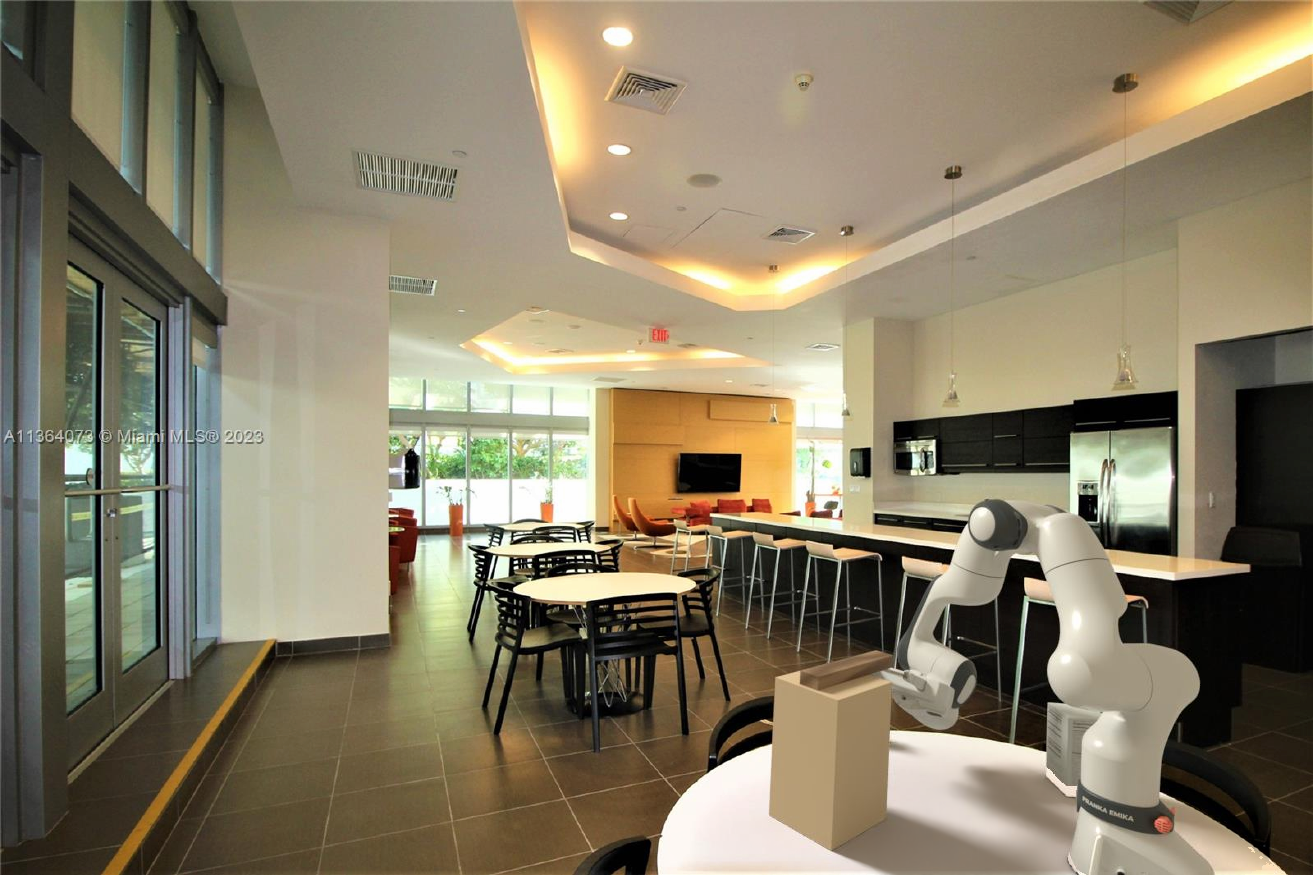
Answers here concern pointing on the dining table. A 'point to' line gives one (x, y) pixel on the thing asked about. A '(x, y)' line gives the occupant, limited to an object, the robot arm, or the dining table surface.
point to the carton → (830, 757)
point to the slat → (845, 670)
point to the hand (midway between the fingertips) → (885, 669)
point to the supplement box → (1067, 740)
